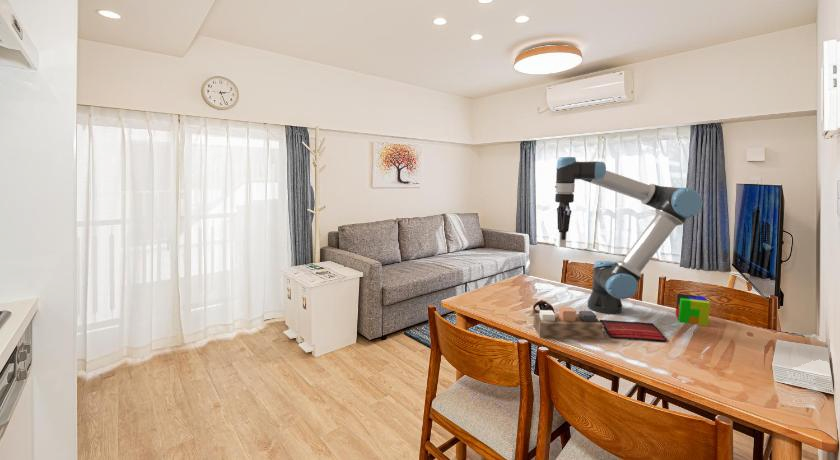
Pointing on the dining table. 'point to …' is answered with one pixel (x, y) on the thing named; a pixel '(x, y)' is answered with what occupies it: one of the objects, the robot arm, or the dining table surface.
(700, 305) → the puzzle toy
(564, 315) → the salmon orange block
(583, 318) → the dark grey block
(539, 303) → the pottery mug
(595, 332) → the key block
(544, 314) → the white block
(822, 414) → the dining table surface
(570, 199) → the robot arm
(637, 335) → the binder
